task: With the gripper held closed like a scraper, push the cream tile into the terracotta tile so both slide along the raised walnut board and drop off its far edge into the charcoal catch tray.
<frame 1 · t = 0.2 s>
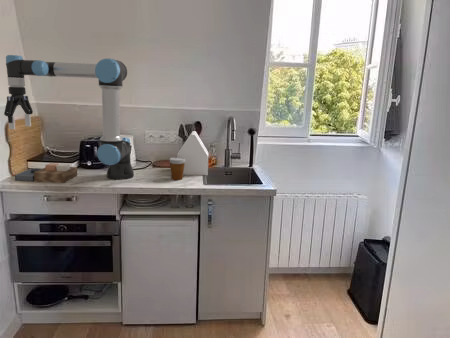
hand: (20, 127, 186), 28 cm above the worktop, tool pointing down, fingers open, 13 cm apart
catch tray: (32, 177, 195), on the worktop
disposable coffee cup: (177, 179, 206), on the worktop
walnut board: (56, 178, 195), on the worktop
white house model: (192, 172, 224), on the worktop
cream tile: (63, 170, 194), point 5 cm above the worktop, touching walnut board
terracotta tile: (52, 169, 194), point 5 cm above the worktop, touching walnut board
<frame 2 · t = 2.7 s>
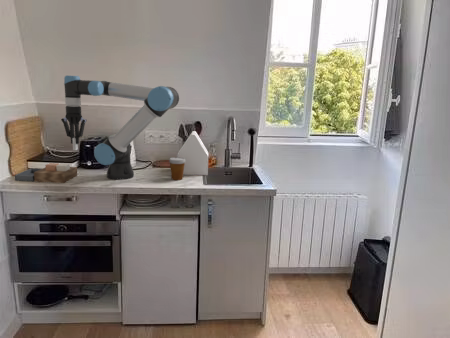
hand: (75, 149, 191), 17 cm above the worktop, tool pointing down, fingers closed
nothing on the worktop moved.
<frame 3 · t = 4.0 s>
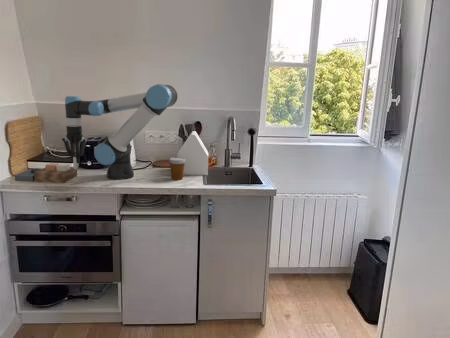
hand: (76, 168, 193), 6 cm above the worktop, tool pointing down, fingers closed
nothing on the worktop moved.
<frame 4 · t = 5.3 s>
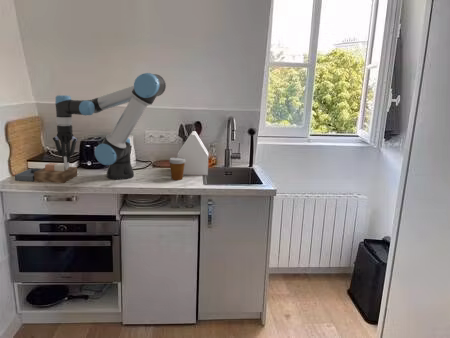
hand: (66, 167, 193), 6 cm above the worktop, tool pointing down, fingers closed
cream tile: (61, 169, 194), point 5 cm above the worktop, touching gripper, terracotta tile
terracotta tile: (52, 169, 194), point 5 cm above the worktop, touching cream tile
everything else where it was.
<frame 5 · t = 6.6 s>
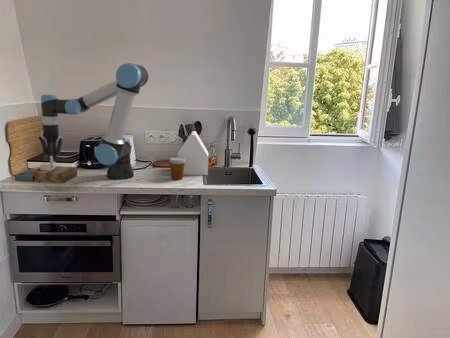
hand: (53, 167, 193), 6 cm above the worktop, tool pointing down, fingers closed
cream tile: (47, 169, 194), point 5 cm above the worktop
terracotta tile: (39, 172, 194), point 3 cm above the worktop, tilted 83°
everything else where it was.
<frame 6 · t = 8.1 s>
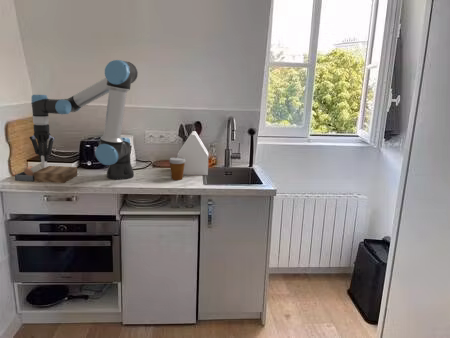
hand: (44, 166, 193), 6 cm above the worktop, tool pointing down, fingers closed
cream tile: (39, 170, 194), point 4 cm above the worktop, tilted 30°
terracotta tile: (32, 169, 194), point 4 cm above the worktop, tilted 144°, touching catch tray
everything else where it was.
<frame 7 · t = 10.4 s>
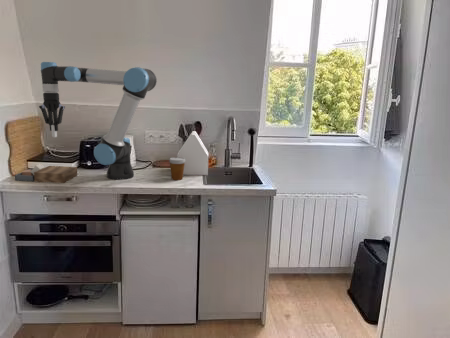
hand: (54, 136, 191), 23 cm above the worktop, tool pointing down, fingers closed
cream tile: (39, 171, 194), point 4 cm above the worktop, tilted 48°, touching terracotta tile, walnut board
terracotta tile: (28, 170, 194), point 3 cm above the worktop, tilted 180°, touching catch tray, cream tile
everything else where it was.
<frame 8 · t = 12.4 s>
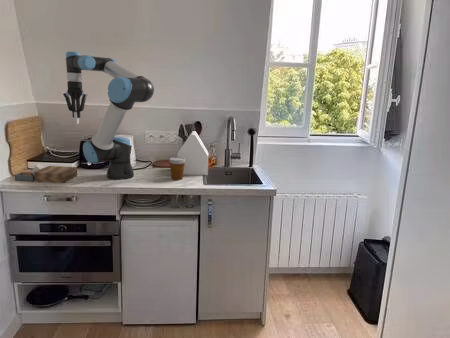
hand: (76, 123, 201), 29 cm above the worktop, tool pointing down, fingers closed
nothing on the worktop moved.
at the end: cream tile inside the target area (4.7 cm from its centre), point 3.6 cm above the worktop; terracotta tile inside the target area (1.4 cm from its centre), point 3.5 cm above the worktop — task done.
